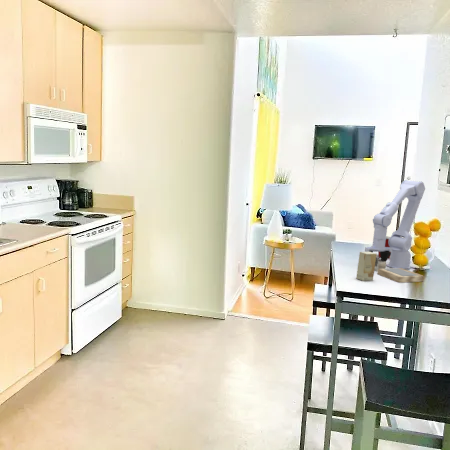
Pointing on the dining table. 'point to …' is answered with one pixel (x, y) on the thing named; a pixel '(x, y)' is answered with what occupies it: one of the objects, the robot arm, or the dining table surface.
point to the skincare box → (366, 266)
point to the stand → (400, 275)
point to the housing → (379, 264)
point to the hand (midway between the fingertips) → (376, 266)
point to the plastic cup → (385, 245)
